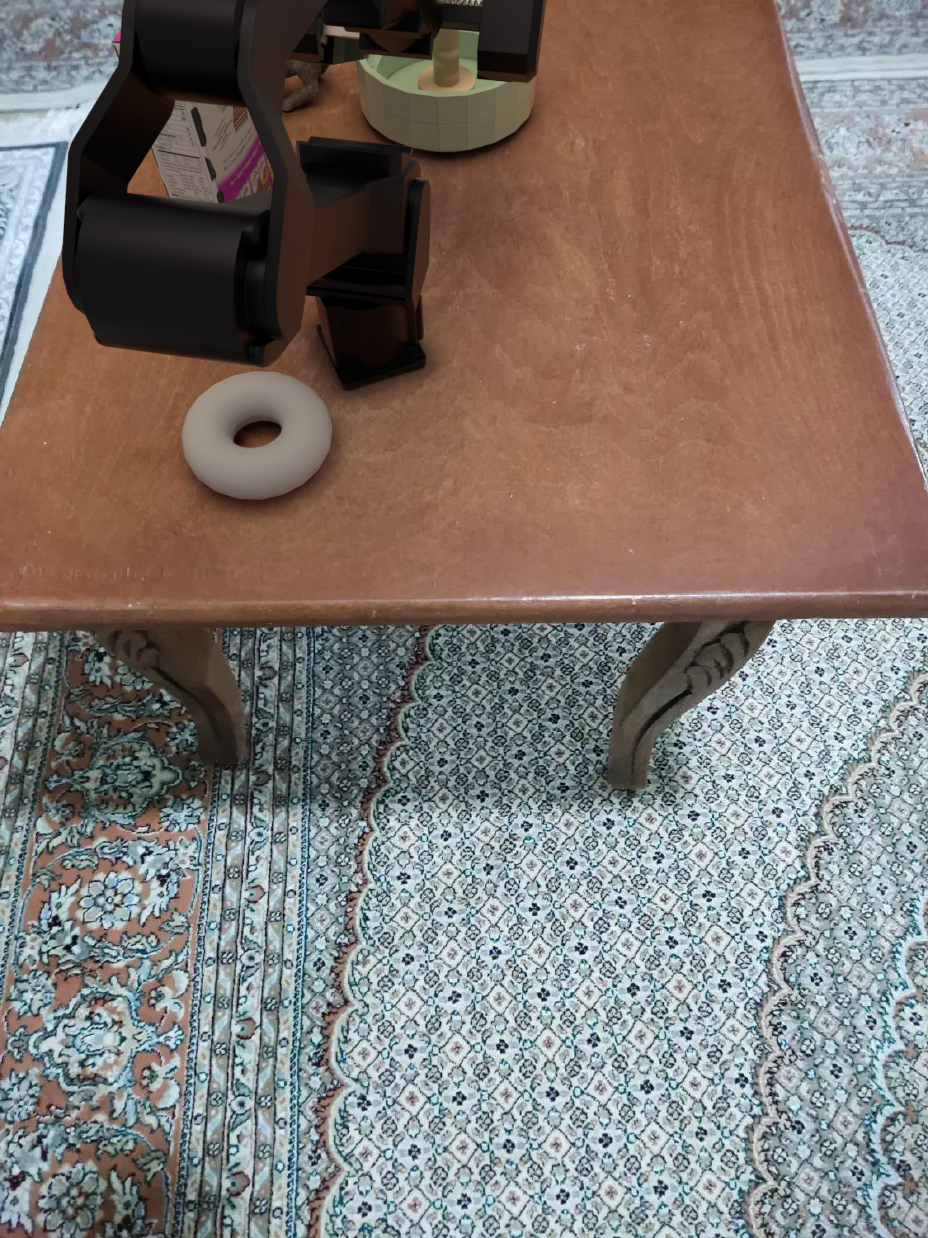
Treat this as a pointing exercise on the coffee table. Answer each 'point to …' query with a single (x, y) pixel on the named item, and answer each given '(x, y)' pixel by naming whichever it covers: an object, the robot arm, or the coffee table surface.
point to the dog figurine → (309, 78)
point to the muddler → (446, 66)
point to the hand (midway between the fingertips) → (425, 55)
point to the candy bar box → (210, 152)
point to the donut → (266, 465)
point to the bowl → (440, 103)
